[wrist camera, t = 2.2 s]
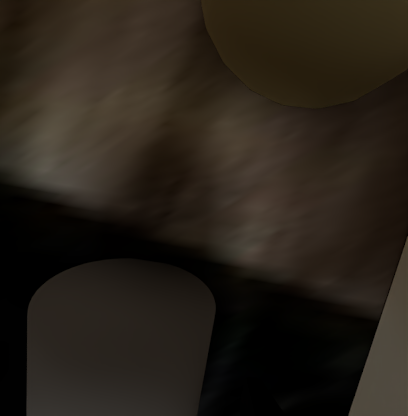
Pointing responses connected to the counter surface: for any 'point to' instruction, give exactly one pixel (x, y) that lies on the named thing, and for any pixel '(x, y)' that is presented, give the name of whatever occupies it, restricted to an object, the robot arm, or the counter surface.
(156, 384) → the dark grey cylinder
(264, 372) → the counter surface
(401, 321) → the slot tray
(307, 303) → the counter surface
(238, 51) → the cork
